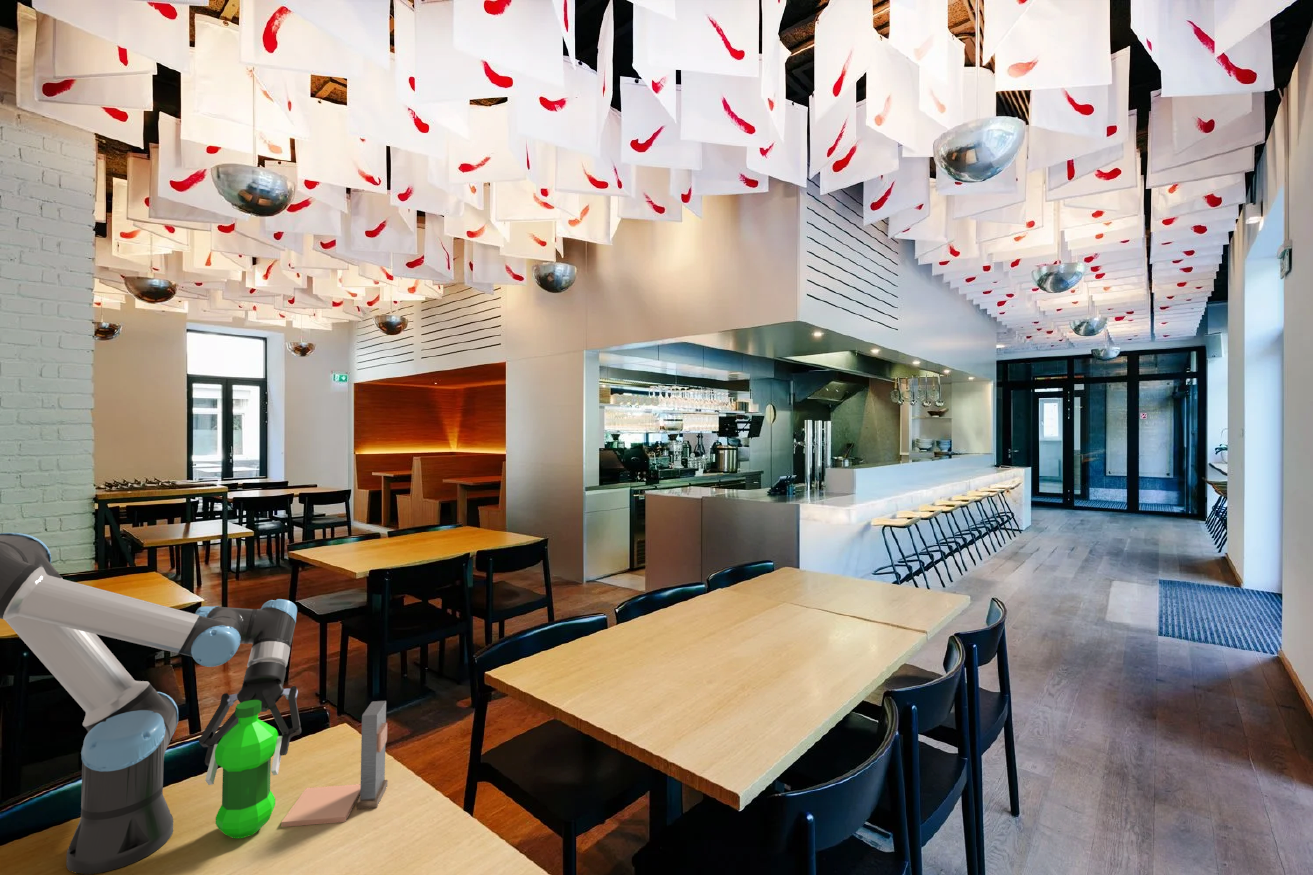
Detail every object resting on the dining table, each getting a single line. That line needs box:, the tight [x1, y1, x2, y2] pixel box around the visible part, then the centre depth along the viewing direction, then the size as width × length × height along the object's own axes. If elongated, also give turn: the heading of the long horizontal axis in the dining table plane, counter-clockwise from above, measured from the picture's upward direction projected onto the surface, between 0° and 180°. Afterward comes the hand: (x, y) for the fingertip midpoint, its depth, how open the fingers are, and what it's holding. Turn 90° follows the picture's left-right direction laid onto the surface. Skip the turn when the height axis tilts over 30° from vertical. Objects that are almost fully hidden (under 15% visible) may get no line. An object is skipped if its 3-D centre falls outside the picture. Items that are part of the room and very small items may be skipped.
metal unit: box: [356, 700, 389, 810], centre depth 131 cm, size 4×8×20 cm, turn 10°
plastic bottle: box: [215, 700, 280, 839], centre depth 119 cm, size 10×10×25 cm
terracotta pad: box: [280, 783, 361, 828], centre depth 127 cm, size 12×12×1 cm
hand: (242, 777), depth 116 cm, fingers closed on plastic bottle, 10 cm apart
